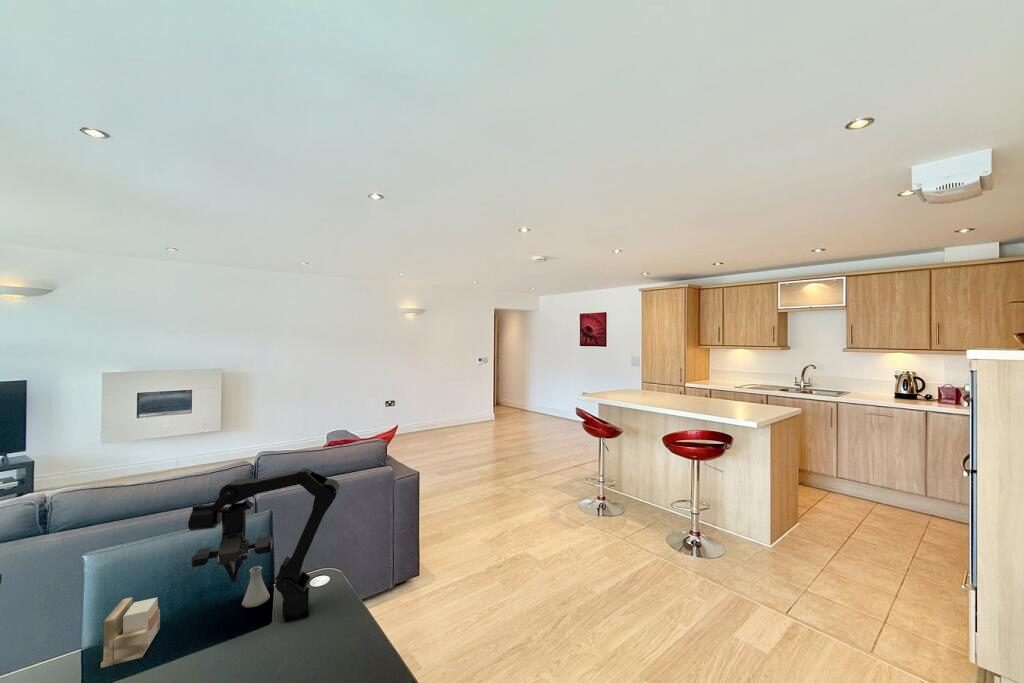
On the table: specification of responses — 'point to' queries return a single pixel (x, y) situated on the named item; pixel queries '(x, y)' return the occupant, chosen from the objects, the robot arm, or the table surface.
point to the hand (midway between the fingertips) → (234, 581)
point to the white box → (142, 618)
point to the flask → (255, 589)
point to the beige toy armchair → (123, 637)
